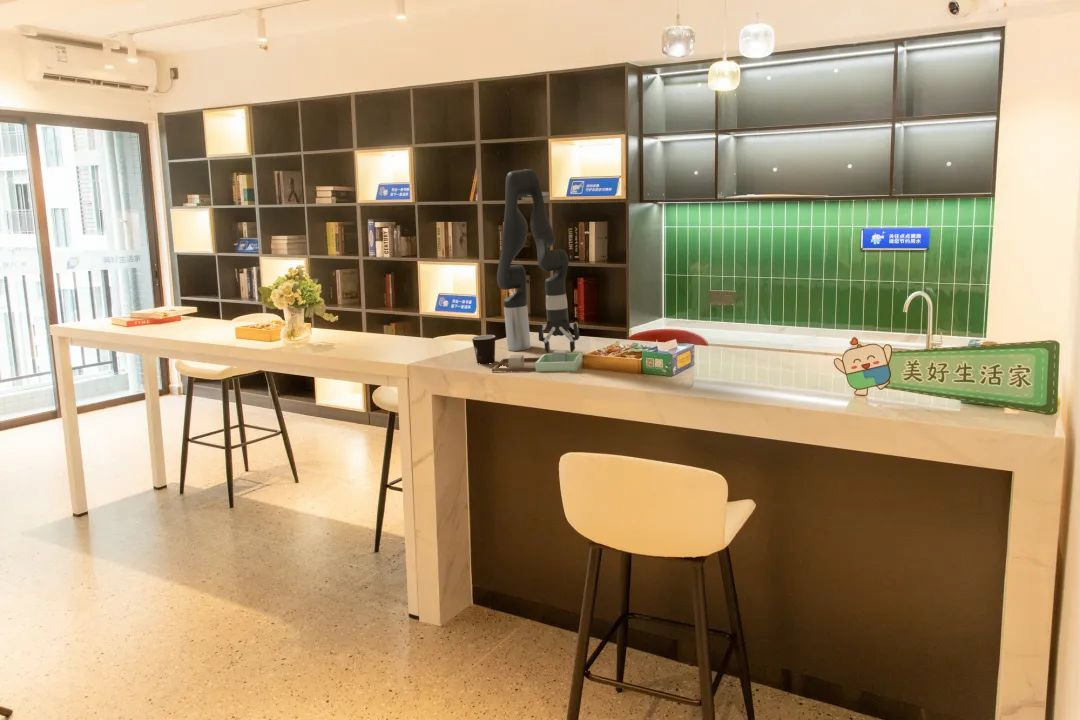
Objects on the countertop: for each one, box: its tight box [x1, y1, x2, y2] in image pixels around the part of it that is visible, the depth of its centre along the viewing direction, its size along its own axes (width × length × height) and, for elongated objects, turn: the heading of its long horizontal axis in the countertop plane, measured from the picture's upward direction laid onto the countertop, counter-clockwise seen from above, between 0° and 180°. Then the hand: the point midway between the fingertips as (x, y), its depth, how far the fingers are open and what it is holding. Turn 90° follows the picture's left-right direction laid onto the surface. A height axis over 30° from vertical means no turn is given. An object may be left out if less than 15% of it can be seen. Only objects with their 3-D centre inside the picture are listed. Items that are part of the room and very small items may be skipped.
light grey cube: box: [508, 354, 525, 368], centre depth 293 cm, size 4×4×4 cm
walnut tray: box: [491, 356, 541, 373], centre depth 297 cm, size 16×16×2 cm
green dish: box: [535, 352, 583, 373], centre depth 291 cm, size 14×14×4 cm
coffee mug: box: [471, 334, 496, 365], centre depth 308 cm, size 12×9×10 cm
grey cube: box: [551, 349, 568, 362], centre depth 294 cm, size 4×4×4 cm
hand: (560, 352), depth 294 cm, fingers open, 8 cm apart
